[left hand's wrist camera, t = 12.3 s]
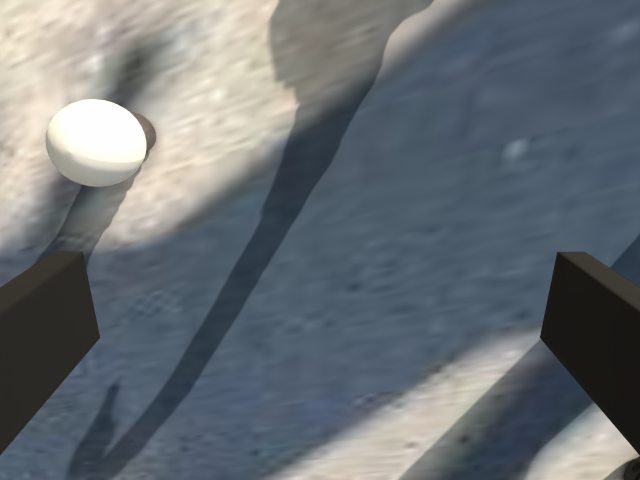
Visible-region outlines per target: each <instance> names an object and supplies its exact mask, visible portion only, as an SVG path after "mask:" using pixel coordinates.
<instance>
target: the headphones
mask: <svg viewBox="0 0 640 480" xmlns="http://www.w3.org/2000/svg"><path fill="white" fill-rule="evenodd" d="M624 480H640V456H639V457H638V458H636V459H635V460H634V461H633V462H632V463H631V464H630V465H629V466H628V468H627V469H626V471H625V474H624Z"/></svg>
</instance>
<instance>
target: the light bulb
mask: <svg viewBox="0 0 640 480" xmlns="http://www.w3.org/2000/svg"><path fill="white" fill-rule="evenodd" d="M155 141H156V133H155V130H154V128H153V126H152V124H151V123H150V122H149V121H148V120H147V119H146V118H145V117H143V116H141V115H139V114H137V113H133V112H129V111H127V110H126V109H125V108H123V107H121V106H119V105H117V104H114V103H112V102H108V101H104V100H93V99H90V100H82V101H78V102H75V103H72V104H70V105H68V106H67V107H65V108H63V109H62V110H61V111H59V112H58V113H57V114H56V115H55V116H54V118H53V119H52V121H51V123H50V125H49V126H48V129H47V133H46V148H47V152H48V155H49V157H50V159H51V161H52V163H53V164H54V165H55V167H56V168H57V169H58V170H59V171H60V172H61V173H62V174H63V175H64V176H66V177H67V178H69V179H70V180H72V181H75V182H77V183H80V184H83V185H86V186H93V187H105V186H111V185H114V184H117V183H121V182H123V181H124V180H126V179H128V178H129V177H131V176H132V175H133V174H134V173H135V172H136V171H137V170H138V169H139V167H140V166H141V164H142V162H143V160H144V157H145V154H146V151H148V150H150V149H151V148H152V147H153V146H154V144H155Z"/></svg>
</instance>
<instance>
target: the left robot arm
mask: <svg viewBox="0 0 640 480" xmlns="http://www.w3.org/2000/svg"><path fill="white" fill-rule="evenodd" d="M99 338H100V335H99V330H98V325H97V320H96V315H95V310H94V306H93V301H92V296H91V291H90V286H89V281H88V276H87V271H86V266H85V261H84V256H83V252H54V253H52V254H51V255H49V256H48V257H46V258H45V259H43V260H42V261H40V262H39V263H37V264H36V265H34V266H32V267H31V268H29V269H28V270H26V271H25V272H23V273H22V274H20V275H19V276H17V277H16V278H14V279H13V280H11V281H10V282H8V283H6V284H5V285H3V286H2V287H0V455H1V454H2V453H3V451H4V450H5V449H6V448H7V447H8V445H9V444H10V443H11V442H12V441H13V440H14V438H15V437H16V436H17V435H18V434H19V433H20V431H21V430H22V429H23V428H24V427H25V425H26V424H27V423H28V422H29V421H30V420H31V418H32V417H33V416H34V415H35V414H36V412H37V411H38V410H39V409H40V408H41V407H42V405H43V404H44V403H45V402H46V401H47V400H48V398H49V397H50V396H51V395H52V394H53V392H54V391H55V390H56V389H57V388H58V387H59V385H60V384H61V383H62V382H63V381H64V380H65V378H66V377H67V376H68V375H69V374H70V372H71V371H72V370H73V369H74V368H75V367H76V365H77V364H78V363H79V362H80V361H81V359H82V358H83V357H84V356H85V355H86V354H87V352H88V351H89V350H90V349H91V348H92V347H93V345H94V344H95V343H96V342H97V341H98V339H99ZM540 338H541V339H542V341H543V342H544V343H545V344H546V345H547V347H548V348H549V349H550V350H551V351H552V352H553V354H554V355H555V356H556V357H557V358H558V359H559V361H560V362H561V363H562V364H563V365H564V367H565V368H566V369H567V370H568V371H569V372H570V374H571V375H572V376H573V377H574V378H575V380H576V381H577V382H578V383H579V384H580V385H581V387H582V388H583V389H584V390H585V391H586V392H587V394H588V395H589V396H590V397H591V398H592V400H593V401H594V402H595V403H596V404H597V405H598V407H599V408H600V409H601V410H602V411H603V413H604V414H605V415H606V416H607V417H608V418H609V420H610V421H611V422H612V423H613V424H614V425H615V427H616V428H617V429H618V430H619V431H620V433H621V434H622V435H623V436H624V437H625V438H626V440H627V441H628V442H629V443H630V444H631V445H632V447H633V448H634V449H635V450H636V451H637V453H638V454H639V455H640V287H638V286H637V285H635V284H634V283H632V282H630V281H629V280H627V279H626V278H624V277H623V276H621V275H620V274H618V273H617V272H615V271H614V270H612V269H611V268H609V267H608V266H606V265H604V264H603V263H601V262H600V261H598V260H597V259H595V258H594V257H592V256H591V255H589V254H588V253H586V252H557V256H556V261H555V266H554V271H553V276H552V281H551V286H550V291H549V296H548V301H547V306H546V310H545V315H544V320H543V325H542V330H541V335H540Z"/></svg>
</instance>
